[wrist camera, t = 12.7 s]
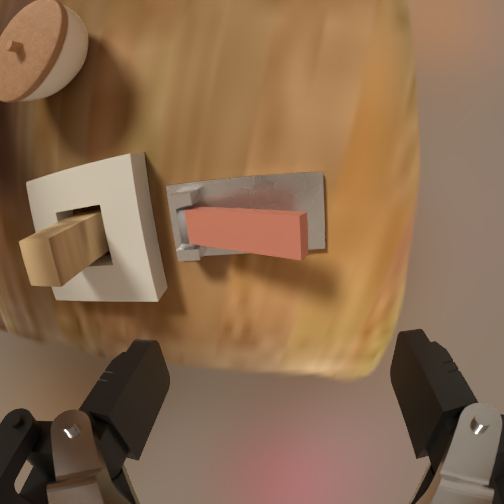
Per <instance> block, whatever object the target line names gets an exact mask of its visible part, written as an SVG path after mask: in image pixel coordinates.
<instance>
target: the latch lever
mask: <svg viewBox="0 0 504 504" xmlns="http://www.w3.org/2000/svg"><path fill="white" fill-rule="evenodd" d="M176 213H177V219H178V226H179V232H180V238H181V243H182V244H194V245H201V246H207V247H214V248H221V249H227V250H234V251H241V252H247V253H254V254H261V255H267V256H274V257H281V258H288V259H294V260H303V259H304V258H305V257H306V256H307V255H308V254H309V250H308V222H307V212H298V211H282V210H264V209H244V208H220V207H194V206H185V207H181V208H178V209H176Z"/></svg>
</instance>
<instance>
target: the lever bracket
mask: <svg viewBox="0 0 504 504" xmlns="http://www.w3.org/2000/svg"><path fill="white" fill-rule="evenodd" d="M166 190H167V197H168V204H169V210H170V216H171V222H172V228H173V234H174V240H175V246H176V252H177V257H178V261H195V260H200V259H201V258H202V256H212V255H229V254H245V253H247V252H241V251H234V250H227V249H221V248H214V247H207V246H201V245H194V244H182V243H181V238H180V232H179V226H178V219H177V213H176V209H178V208H181V207H185V206H194V207H220V208H244V209H264V210H282V211H298V212H307V222H308V250H310V249H325V213H324V187H323V172H300V173H283V174H268V175H255V176H244V177H233V178H223V179H213V180H204V181H196V182H187V183H180V184H172V185H167V186H166Z"/></svg>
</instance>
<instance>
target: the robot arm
mask: <svg viewBox="0 0 504 504" xmlns="http://www.w3.org/2000/svg"><path fill="white" fill-rule="evenodd" d="M390 376H391V383H392V386H393V389H394V391H395V394H396V397H397V400H398V403H399V405H400V408H401V411H402V414H403V417H404V420H405V423H406V426H407V429H408V432H409V436H410V439H411V442H412V445H413V448H414V452H415V455H416V458H417V459H418V458H422V457H425V456H429V459H430V464H429V465H428V467H427V469H426V471H425V473H424V476H423V477H422V480H421V482H420V484H419V486H418V488H417V489H416V491H415V493H414V495H413V497H412V499H411V500H410V502H409V504H491V503H492V504H504V415H500V413H499V412H498V411H497V410H496V409H495V408H494V407H493V406H491V405H488V404H486V403H478V401H477V399H476V398H475V396H474V394H473V392H472V391H471V389H470V387H469V385H468V384H467V382H466V380H465V379H464V377H463V376H462V374H461V372H460V371H458V367H457V366H456V364H455V362H453V359H452V358H451V356H450V354H449V353H448V351H447V350H446V349H445V348H443V347H442V346H441V345H439V344H438V343H437V342H435V341H434V342H430V341H429V339H428V338H427V336H426V335H425V333H424V331H423V330H422V329H416V330H409V331H402V332H400V333H399V334H398V337H397V342H396V346H395V351H394V355H393V360H392V365H391V370H390ZM169 385H170V376H169V372H168V369H167V366H166V363H165V360H164V357H163V354H162V351H161V348H160V345H159V343H158V342H157V341H156V340H141V339H136V340H134V341H133V343H132V344H131V346H130V347H129V349H128V350H127V352H122V353H121V354H120V355H118V356H117V357H116V358H115V359H113V360H112V361H111V363H110V364H109V365H108V367H107V368H106V370H105V372H104V373H103V374H102V376H101V377H100V381H99V380H98V381H97V383H96V385H95V386H94V387H93V389H92V390H91V392H90V394H89V395H88V397H87V398H86V400H85V401H84V402H83V404H82V405H81V407H80V409H79V410H68V411H65V412H63V413H61V414H60V415H58V416H57V417H56V418H55V419H54V421H36V420H35V419H34V417H33V416H32V414H31V413H30V412H29V411H28V410H26V409H22V408H21V409H15V410H13V411H11V412H10V413H8V414H7V415H6V416H5V418H4V419H3V421H2V422H1V423H0V504H140V503H139V500H138V498H137V496H136V493H135V491H134V489H133V486H132V484H131V481H130V479H129V476H128V473H127V470H126V468H125V466H124V465H123V463H124V461H125V459H126V457H127V458H131V459H135V460H139V458H140V456H141V453H142V451H143V448H144V446H145V444H146V441H147V439H148V437H149V434H150V432H151V430H152V427H153V425H154V422H155V420H156V418H157V415H158V413H159V411H160V408H161V406H162V404H163V401H164V399H165V397H166V394H167V392H168V389H169ZM26 460H28V462H30V464H31V465H33V468H32V470H31V472H30V474H29V476H28V478H27V480H26V482H25V484H24V486H23V488H22V490H21V492H20V493H19V494H17V492H16V491H15V487H14V483H15V480H16V478H17V476H18V474H19V472H20V470H21V468H22V467H23V465H24V463H25V461H26Z"/></svg>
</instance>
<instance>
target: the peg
mask: <svg viewBox="0 0 504 504" xmlns="http://www.w3.org/2000/svg"><path fill="white" fill-rule="evenodd" d="M19 245H20V249H21V252H22V256H23V260H24V263H25V267H26V270H27V274H28V277H29V280H30V283H31V286H50V287H62V286H63V285H65V284H66V283H67V282H68V281H70V280H71V279H72V278H73V277H75V276H76V275H77V274H78V273H80V272H81V271H82V270H84V269H85V268H86V267H88V266H89V265H90V264H91V263H93V262H94V261H95V260H97V259H98V258H99V257H101V256H102V255H103V254H105V253H106V252H108V251H109V246H108V241H107V237H106V232H105V228H104V223H103V218H102V213H101V209H98V210H91V211H83V212H79V213H77V214H75V215H72V216H70V217H68V218H66V219H64V220H61V221H59V222H57V223H55V224H53V225H51V226H49V227H47V228H45V229H43V230H41V231H38V232H36V233H34V234H32V235H30V236H29V237H27V238H25V239H23V240H21V241H19Z"/></svg>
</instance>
